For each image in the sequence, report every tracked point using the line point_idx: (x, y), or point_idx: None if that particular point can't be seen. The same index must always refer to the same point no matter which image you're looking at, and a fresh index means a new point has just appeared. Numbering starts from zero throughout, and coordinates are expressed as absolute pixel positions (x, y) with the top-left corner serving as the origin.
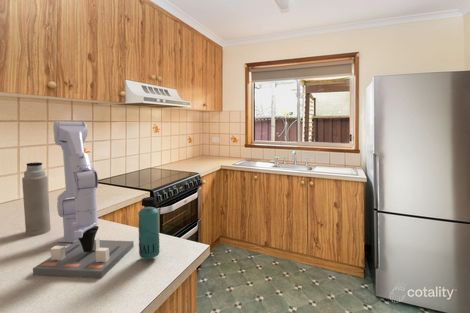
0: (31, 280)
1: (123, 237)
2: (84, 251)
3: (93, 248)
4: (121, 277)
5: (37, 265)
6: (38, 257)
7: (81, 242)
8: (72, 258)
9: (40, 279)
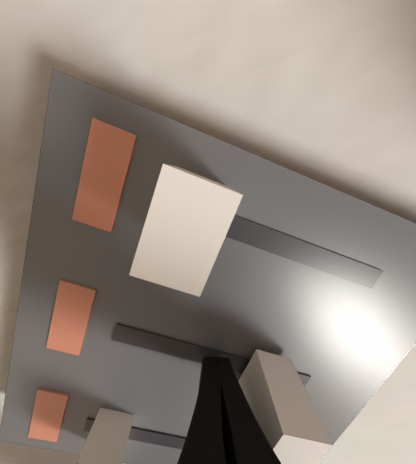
0: (20, 107)
1: (411, 413)
2: (202, 362)
3: (242, 389)
4: (30, 452)
5: (98, 89)
6: (359, 14)
7: (185, 445)
8: (167, 295)
9: (29, 159)
